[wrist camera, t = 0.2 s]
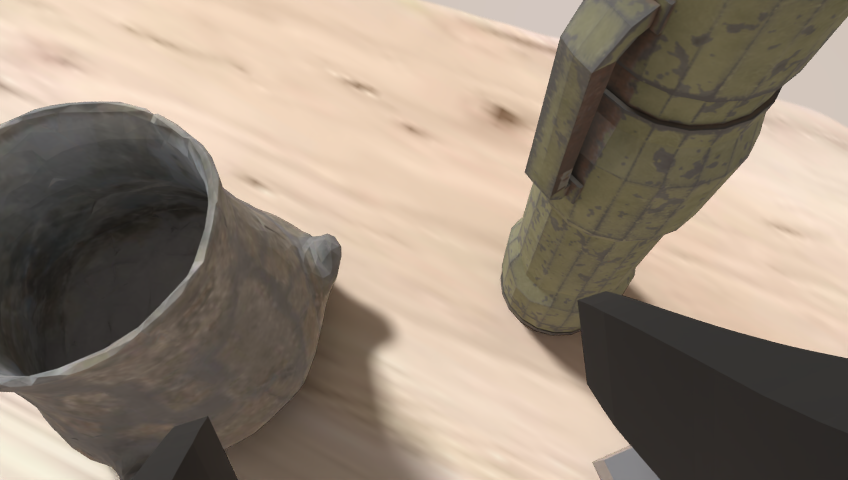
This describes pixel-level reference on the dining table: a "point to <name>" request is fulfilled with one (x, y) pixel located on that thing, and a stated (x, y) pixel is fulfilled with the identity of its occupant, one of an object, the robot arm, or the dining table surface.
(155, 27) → the dining table surface
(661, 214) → the thermos
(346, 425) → the dining table surface
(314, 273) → the vessel
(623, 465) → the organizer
